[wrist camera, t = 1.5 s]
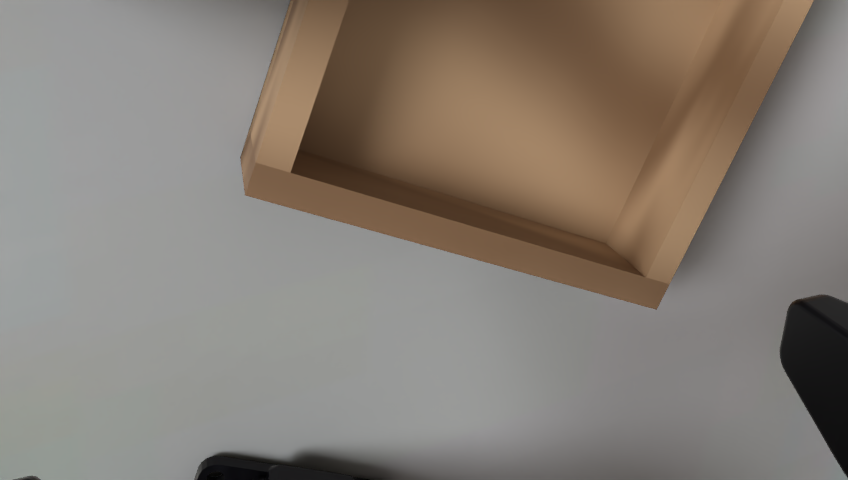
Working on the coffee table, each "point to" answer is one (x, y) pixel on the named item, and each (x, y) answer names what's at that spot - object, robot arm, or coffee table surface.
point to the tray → (518, 125)
